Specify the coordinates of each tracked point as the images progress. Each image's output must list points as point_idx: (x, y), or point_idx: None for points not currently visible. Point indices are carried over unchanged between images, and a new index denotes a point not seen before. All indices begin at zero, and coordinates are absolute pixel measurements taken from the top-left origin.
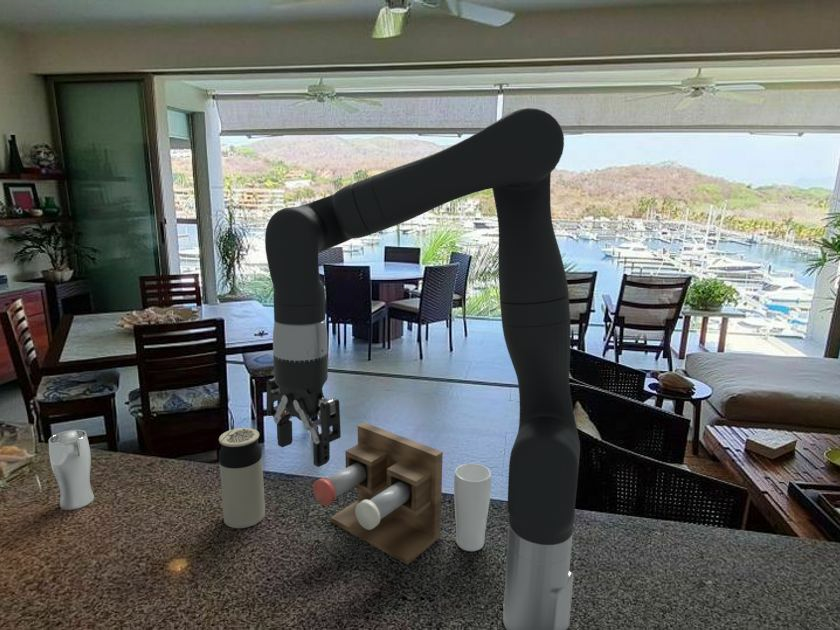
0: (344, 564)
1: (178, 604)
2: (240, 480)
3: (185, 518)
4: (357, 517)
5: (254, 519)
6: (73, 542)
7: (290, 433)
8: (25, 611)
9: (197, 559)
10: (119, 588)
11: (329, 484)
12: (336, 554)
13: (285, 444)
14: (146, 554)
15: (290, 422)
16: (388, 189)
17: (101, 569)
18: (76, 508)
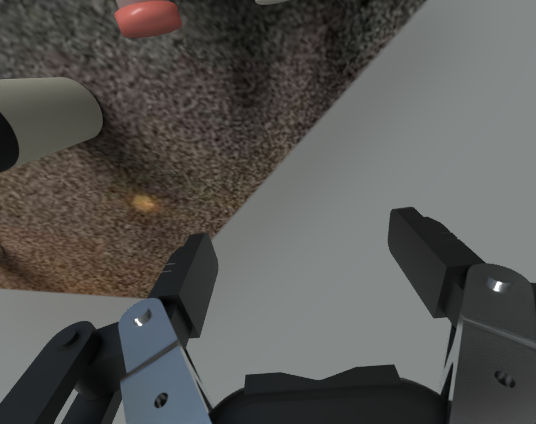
0: (249, 38)
1: (203, 218)
2: (41, 142)
3: (53, 172)
4: (263, 3)
5: (94, 108)
6: (67, 260)
7: (197, 260)
8: None
9: (143, 186)
10: (155, 246)
11: (153, 8)
12: (222, 35)
13: (213, 255)
14: (113, 220)
15: (182, 297)
16: None
17: (121, 251)
18: (2, 250)
